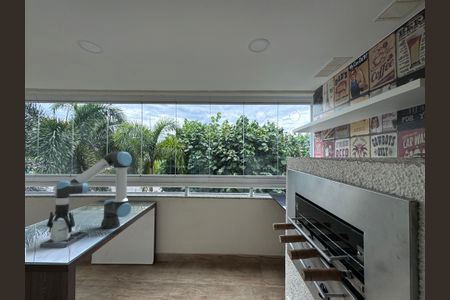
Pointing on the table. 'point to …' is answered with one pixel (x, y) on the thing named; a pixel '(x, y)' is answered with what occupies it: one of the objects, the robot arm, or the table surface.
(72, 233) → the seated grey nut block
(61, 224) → the supplement box
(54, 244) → the grey flat rectangular frame
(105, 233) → the table surface
